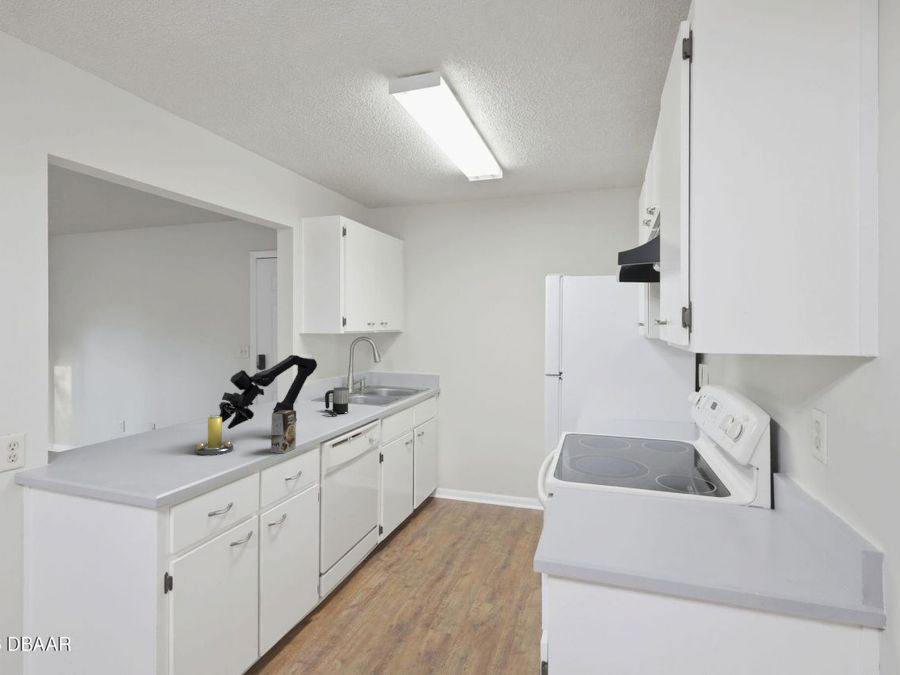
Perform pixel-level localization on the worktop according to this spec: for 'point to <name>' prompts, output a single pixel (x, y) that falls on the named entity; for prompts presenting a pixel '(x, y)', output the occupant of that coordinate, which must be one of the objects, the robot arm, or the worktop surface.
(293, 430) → the coffee box
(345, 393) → the milk frother
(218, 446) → the yellow cylinder
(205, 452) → the base plate
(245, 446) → the worktop surface
